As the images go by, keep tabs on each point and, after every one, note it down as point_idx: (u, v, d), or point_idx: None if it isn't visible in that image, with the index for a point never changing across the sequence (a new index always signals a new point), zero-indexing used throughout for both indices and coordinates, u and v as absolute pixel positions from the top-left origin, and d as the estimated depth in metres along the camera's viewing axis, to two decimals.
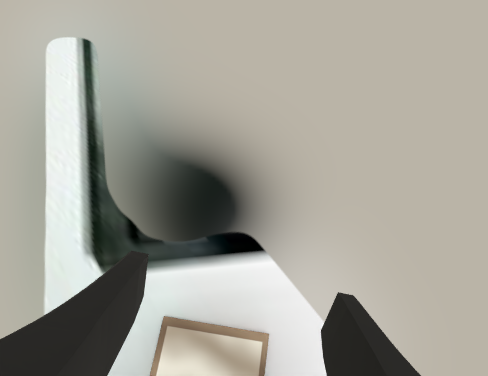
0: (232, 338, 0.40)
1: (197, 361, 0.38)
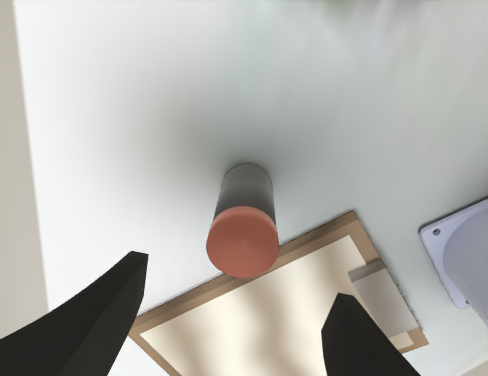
0: (170, 360, 0.27)
1: (224, 375, 0.28)
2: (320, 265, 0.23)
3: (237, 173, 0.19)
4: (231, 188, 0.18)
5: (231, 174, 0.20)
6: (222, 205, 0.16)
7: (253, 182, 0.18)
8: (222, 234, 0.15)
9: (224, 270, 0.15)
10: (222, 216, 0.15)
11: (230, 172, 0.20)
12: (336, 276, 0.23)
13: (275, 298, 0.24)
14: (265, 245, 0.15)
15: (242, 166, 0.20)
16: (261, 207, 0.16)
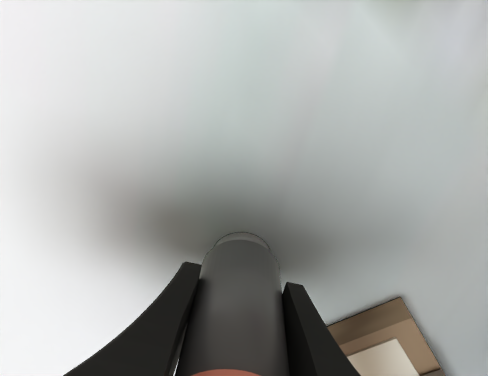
0: None
1: None
2: None
3: (224, 260, 0.12)
4: (211, 299, 0.10)
5: (214, 259, 0.12)
6: (192, 348, 0.09)
7: (250, 286, 0.11)
8: None
9: None
10: None
11: (213, 253, 0.13)
12: None
13: None
14: None
15: (232, 244, 0.13)
16: (263, 363, 0.08)
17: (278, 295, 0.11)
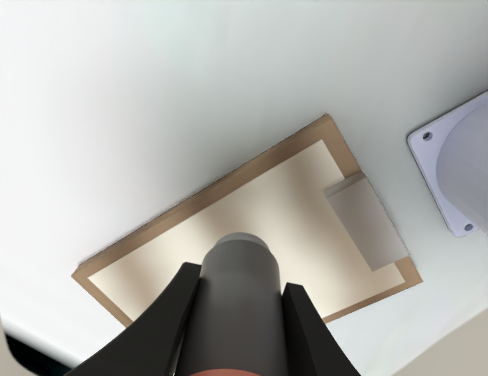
0: (126, 310, 0.24)
1: None
2: (289, 182, 0.19)
3: (223, 260, 0.12)
4: (211, 299, 0.10)
5: (214, 259, 0.12)
6: (191, 348, 0.09)
7: (249, 286, 0.10)
8: None
9: None
10: None
11: (213, 253, 0.13)
12: (310, 196, 0.20)
13: (240, 227, 0.21)
14: None
15: (231, 244, 0.13)
16: (262, 362, 0.08)
17: (277, 295, 0.11)
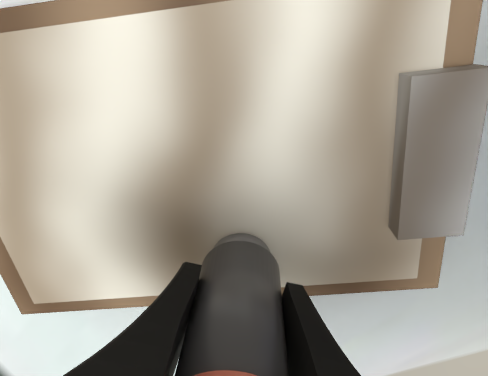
0: None
1: (66, 222, 0.14)
2: (357, 29, 0.11)
3: (223, 261, 0.12)
4: (211, 300, 0.10)
5: (214, 260, 0.12)
6: (191, 350, 0.09)
7: (249, 287, 0.11)
8: None
9: None
10: None
11: (213, 254, 0.13)
12: (372, 74, 0.11)
13: (235, 75, 0.11)
14: None
15: (231, 245, 0.13)
16: (262, 364, 0.08)
17: (277, 296, 0.11)
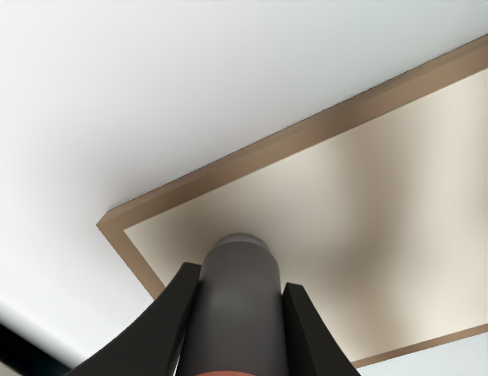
0: None
1: None
2: None
3: (223, 261, 0.12)
4: (211, 301, 0.10)
5: (214, 261, 0.12)
6: (191, 350, 0.09)
7: (249, 287, 0.11)
8: None
9: None
10: None
11: (213, 254, 0.13)
12: None
13: (397, 169, 0.12)
14: None
15: (231, 245, 0.13)
16: (262, 364, 0.08)
17: (278, 296, 0.11)
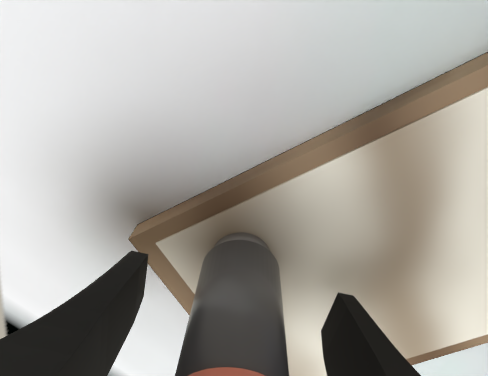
0: None
1: (294, 330, 0.16)
2: None
3: (224, 260, 0.12)
4: (211, 299, 0.10)
5: (214, 259, 0.12)
6: (192, 347, 0.09)
7: (250, 285, 0.11)
8: None
9: None
10: None
11: (213, 253, 0.13)
12: None
13: (428, 175, 0.13)
14: None
15: (231, 244, 0.13)
16: (262, 361, 0.08)
17: (278, 294, 0.11)
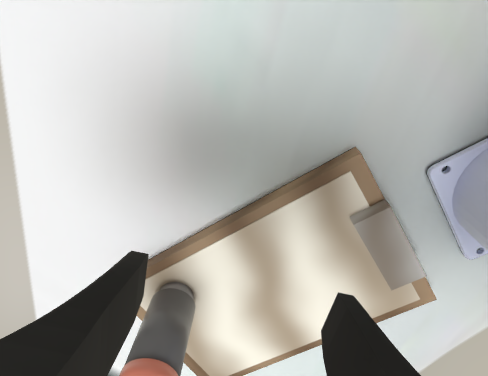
0: None
1: (216, 336, 0.26)
2: (319, 208, 0.21)
3: (157, 302, 0.22)
4: (146, 325, 0.20)
5: (153, 301, 0.22)
6: (132, 350, 0.19)
7: (166, 316, 0.21)
8: None
9: None
10: (125, 370, 0.18)
11: (154, 297, 0.23)
12: (336, 221, 0.21)
13: (271, 247, 0.22)
14: None
15: (164, 291, 0.23)
16: (162, 355, 0.18)
17: (184, 320, 0.21)
